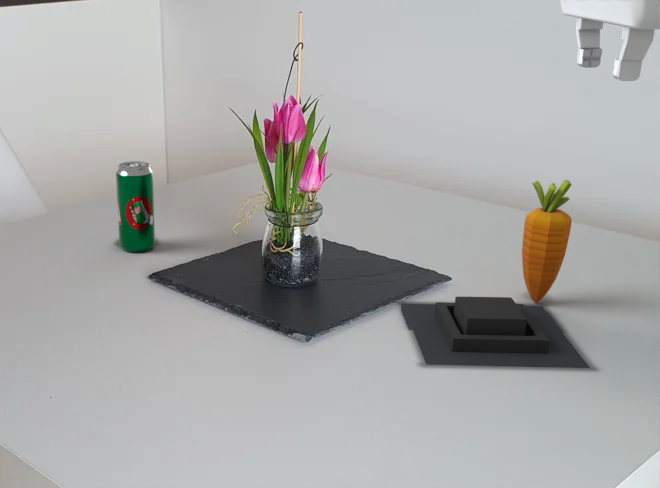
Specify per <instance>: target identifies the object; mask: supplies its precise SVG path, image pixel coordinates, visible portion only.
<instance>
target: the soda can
mask: <svg viewBox="0 0 660 488" xmlns="http://www.w3.org/2000/svg"><path fill="white" fill-rule="evenodd" d="M117 167H118V168H117V170H116V172H115V182H116V202H117V204H116V205H117V223H118V225H117V226H118V243H119V244H118V245H119V246H120V248H121V249H122V250H123V251H126V252H129V253H144V252H148V251H150V250H151V249H153V247H154V246H155V245H156V230H155V200H154V199H155V197H154V194H155V193H154V171H153V170H152V168H151V164H150V163H149V162H146V161H139V160H138V161H137V160H136V161H135V160H134V161H133V160H132V161H125V162H120V163H119V164H118V166H117Z"/></svg>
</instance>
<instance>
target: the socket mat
mask: <svg viewBox="0 0 660 488" xmlns="http://www.w3.org/2000/svg"><path fill="white" fill-rule="evenodd" d="M516 305H517V306H518V307H519V309H520V310H521V312H522V313H523V314H524V316H525V317H526V319H527V324H526V330H525V336H502V335H461V333H460V331H459V329H458V328H457V326H456V324H455V322H454V320H453V316H454V307H455V302H435V303H401V306H400V310H401V312H402V315H403V318H404V320H405V323H406V326H407V328H408V330H409V331H412V332H413V335H414V337H415V339H416V342H417V345H418V347H419V350H420V353H421V355H422V357H423V360H424V363H425V365H426V366H469V367H470V366H471V367H510V368H513V367H514V368H552V369H553V368H557V369H558V368H559V369H560V368H561V369H591V367H590V366H589V364H588V363H587V362H586V360H585V359H584V358H583V357H582V355H581V354H580V353H579V352H578V350H577V349H576V347H574V345H573V344H572V343H571V341H570V340H569V338H567V336H566V335H565V334H564V332H563V331H562V330H561V328H560V327H559V326H558V324H557V323H556V322H555V321H554V320H553V318H552V317H551V316H550V315H549V313H548V312H547V310H546V309H545V308H544V306H543V305H525V304H523V303H516Z"/></svg>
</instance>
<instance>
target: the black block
mask: <svg viewBox="0 0 660 488" xmlns="http://www.w3.org/2000/svg"><path fill="white" fill-rule="evenodd" d="M454 298H455V299H454V303H455V307H454V316H453V320H454V322H455V324H456V326H457V328H458V329H459V331H460V333H461V335H502V336H525V330H526V324H527V319H526V317H525V316H524V314H523V313H522V312H521V310H520V309H519V307H518V306H517V305H516V304H517V303H516V302H515V301H514V299H513V298H512V296H511V297H508V296H507V297H506V296H505V297H504V296H494V297H493V296H455V297H454Z"/></svg>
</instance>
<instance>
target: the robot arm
mask: <svg viewBox="0 0 660 488" xmlns="http://www.w3.org/2000/svg"><path fill="white" fill-rule="evenodd" d="M559 3H560V8H561V13H562V15H564V16H567V17H568V16H569V17H573V18H576V24H575V34H576V42H577V48H578V50H577V57H576V64H577V65H578V66H579V67H581V68H586V69H587V68H588V69H589V68H592V69H593V68H598V67H599V66H600V65H601V58H602V54H603V49H602V48H600V45H601V30H603V27H604V24H608V25H613V26H619V27H622V33H621V40H622V41H623V43H622V46H621V49H620V53H619V56H618V58H614V63H613V64H614V65H613V71H612V76H613V78H614V79H616V80H619V81H621V82H635V81H637V80H639V78H640V76H641V71H642V65H643V60H644V59H645V57H646V55H647V53H648V51H649V49H650V47H651V45H652V43H653V41H654V36H655V31H656V30H660V0H559Z"/></svg>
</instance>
